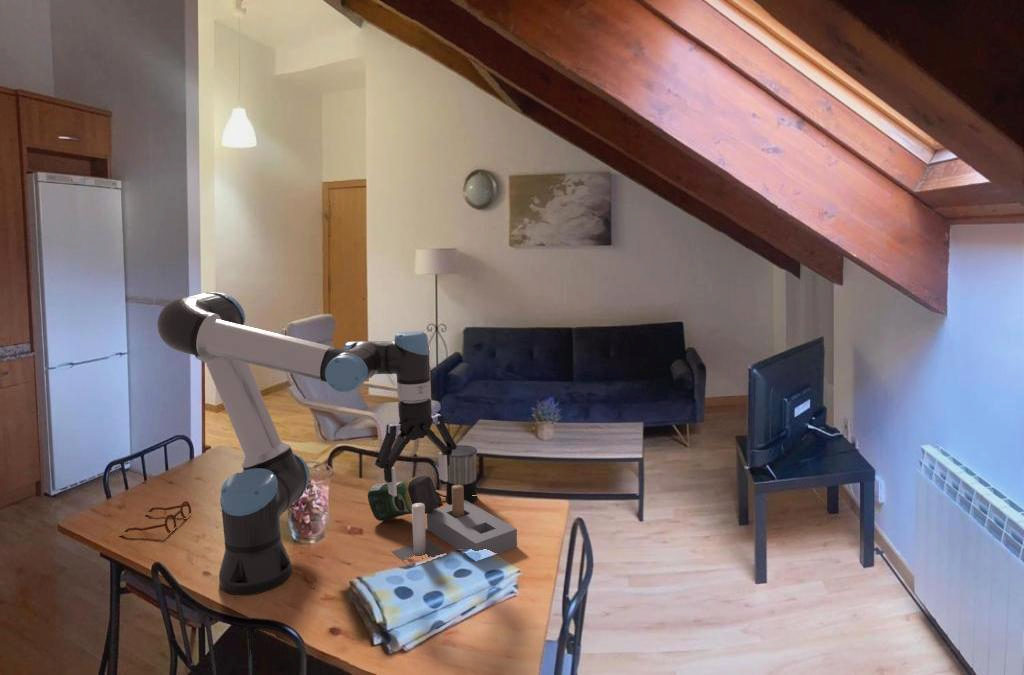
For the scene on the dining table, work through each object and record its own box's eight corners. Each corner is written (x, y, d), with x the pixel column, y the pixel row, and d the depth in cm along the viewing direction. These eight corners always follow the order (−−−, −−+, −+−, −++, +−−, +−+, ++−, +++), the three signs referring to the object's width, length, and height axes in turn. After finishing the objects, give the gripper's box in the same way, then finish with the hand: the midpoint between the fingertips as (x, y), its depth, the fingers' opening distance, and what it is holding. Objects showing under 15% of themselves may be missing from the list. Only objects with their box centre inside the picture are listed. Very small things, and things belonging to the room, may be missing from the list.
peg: (417, 557, 160) (415, 509, 158) (411, 552, 162) (409, 505, 160) (428, 553, 162) (427, 505, 160) (422, 548, 164) (420, 501, 162)
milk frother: (484, 497, 196) (483, 448, 193) (452, 518, 182) (450, 465, 180) (444, 487, 203) (443, 440, 200) (410, 507, 190) (408, 456, 187)
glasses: (169, 537, 174) (167, 519, 173) (118, 538, 173) (116, 519, 173) (193, 515, 186) (191, 498, 186) (145, 516, 186) (143, 499, 186)
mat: (411, 569, 155) (411, 567, 155) (391, 553, 163) (391, 551, 163) (448, 556, 161) (448, 554, 161) (427, 540, 169) (427, 539, 169)
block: (476, 563, 158) (475, 514, 156) (427, 530, 175) (425, 486, 173) (516, 548, 165) (516, 501, 163) (466, 517, 182) (465, 475, 180)
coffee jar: (393, 512, 186) (445, 505, 176) (374, 525, 179) (427, 518, 169) (382, 478, 185) (434, 470, 175) (362, 490, 178) (415, 482, 169)
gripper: (372, 412, 145) (377, 506, 149) (468, 392, 160) (471, 478, 164) (356, 405, 151) (362, 496, 155) (451, 387, 166) (454, 470, 170)
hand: (418, 487), depth 159 cm, fingers open, 13 cm apart
